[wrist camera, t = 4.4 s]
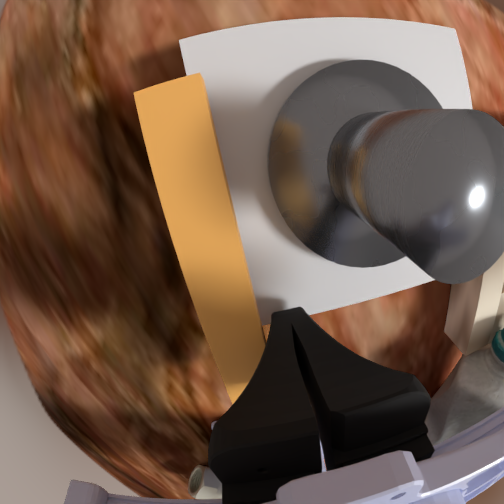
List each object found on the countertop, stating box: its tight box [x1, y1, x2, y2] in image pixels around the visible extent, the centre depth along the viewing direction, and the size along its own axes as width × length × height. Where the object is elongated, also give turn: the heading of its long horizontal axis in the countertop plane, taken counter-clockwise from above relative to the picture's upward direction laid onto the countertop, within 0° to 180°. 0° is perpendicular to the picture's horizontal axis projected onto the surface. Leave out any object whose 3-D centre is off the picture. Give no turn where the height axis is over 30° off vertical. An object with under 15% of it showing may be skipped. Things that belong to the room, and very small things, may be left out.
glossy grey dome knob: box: [267, 59, 504, 284], centre depth 9 cm, size 8×8×9 cm
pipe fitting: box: [188, 465, 222, 499], centre depth 23 cm, size 8×4×7 cm
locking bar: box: [134, 73, 266, 404], centre depth 11 cm, size 15×2×1 cm, turn 12°
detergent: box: [425, 328, 504, 446], centre depth 18 cm, size 13×7×25 cm
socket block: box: [179, 17, 472, 325], centre depth 12 cm, size 12×12×3 cm
